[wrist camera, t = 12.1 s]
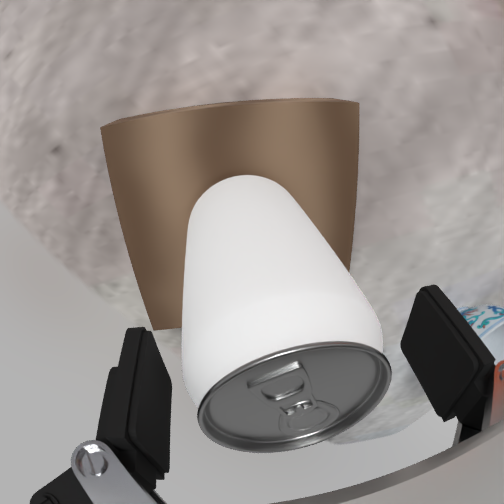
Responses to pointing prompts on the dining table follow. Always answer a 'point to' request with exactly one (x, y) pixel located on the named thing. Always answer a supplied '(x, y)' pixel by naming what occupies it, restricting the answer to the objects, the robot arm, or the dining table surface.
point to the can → (273, 324)
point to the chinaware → (487, 326)
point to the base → (222, 167)
